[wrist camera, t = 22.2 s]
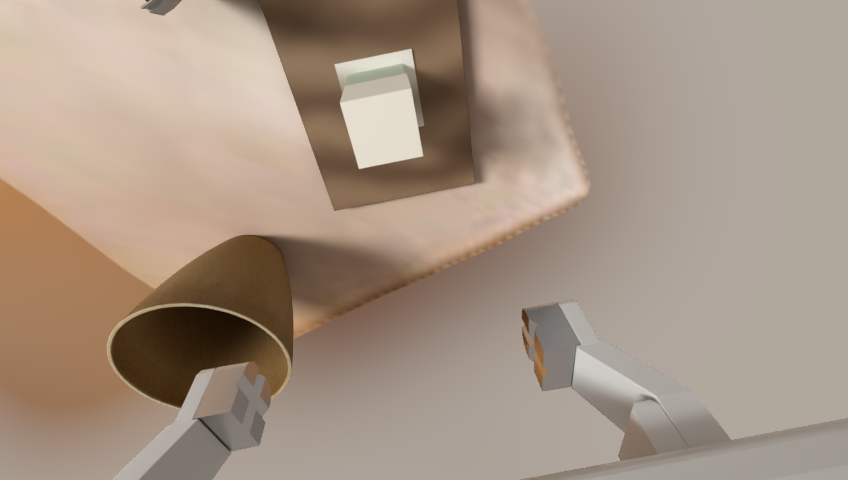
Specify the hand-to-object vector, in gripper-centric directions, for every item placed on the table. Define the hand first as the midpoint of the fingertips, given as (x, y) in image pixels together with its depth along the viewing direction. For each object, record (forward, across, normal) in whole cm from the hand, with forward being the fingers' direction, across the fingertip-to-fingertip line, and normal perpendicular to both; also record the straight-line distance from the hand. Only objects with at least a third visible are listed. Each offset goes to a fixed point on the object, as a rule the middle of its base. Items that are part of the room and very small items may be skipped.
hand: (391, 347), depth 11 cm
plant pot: (+31, +20, +16) cm, 40 cm away
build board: (+31, 0, 0) cm, 31 cm away
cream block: (+24, 0, 0) cm, 24 cm away
